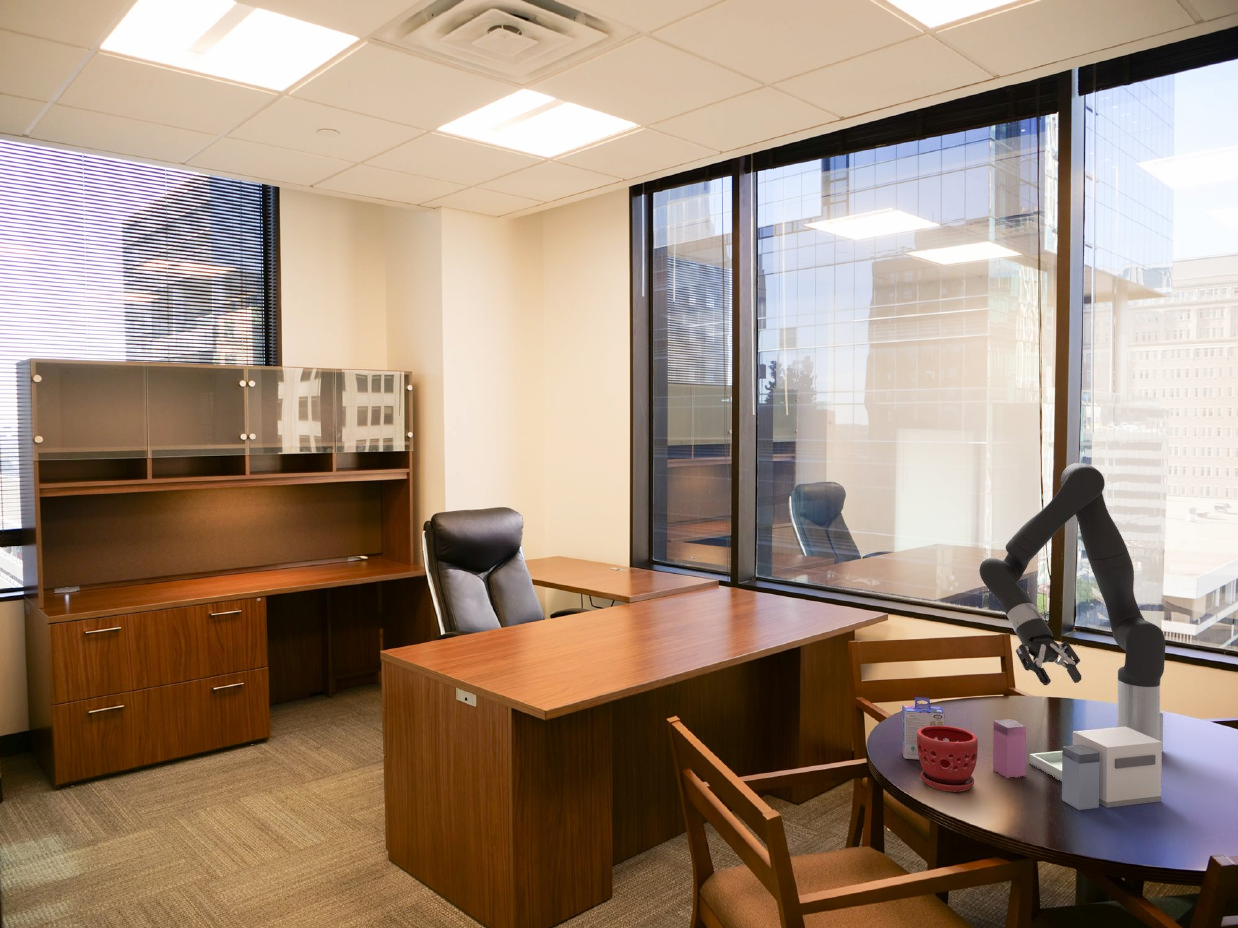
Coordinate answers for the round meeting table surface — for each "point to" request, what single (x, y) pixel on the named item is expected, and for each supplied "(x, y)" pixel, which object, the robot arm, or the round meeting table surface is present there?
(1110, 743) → the printer unit
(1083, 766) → the slate blue cartridge
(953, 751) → the plant pot
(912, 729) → the ink cartridge box
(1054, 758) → the parts tray
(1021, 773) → the magenta cartridge
